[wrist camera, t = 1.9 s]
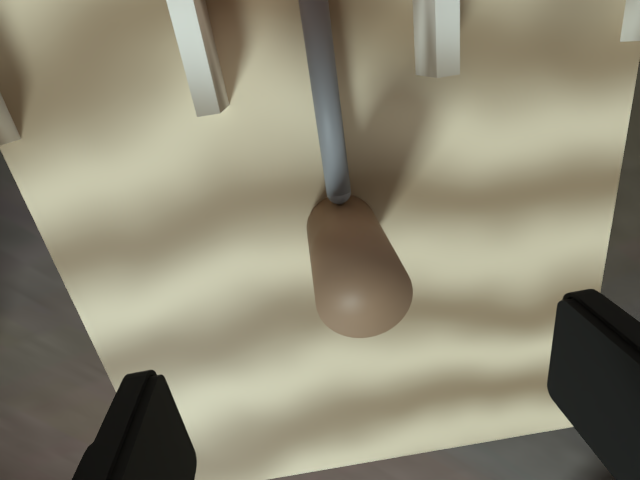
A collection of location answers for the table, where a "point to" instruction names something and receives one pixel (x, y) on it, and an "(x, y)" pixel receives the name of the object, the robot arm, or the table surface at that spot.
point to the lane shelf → (309, 189)
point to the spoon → (345, 213)
